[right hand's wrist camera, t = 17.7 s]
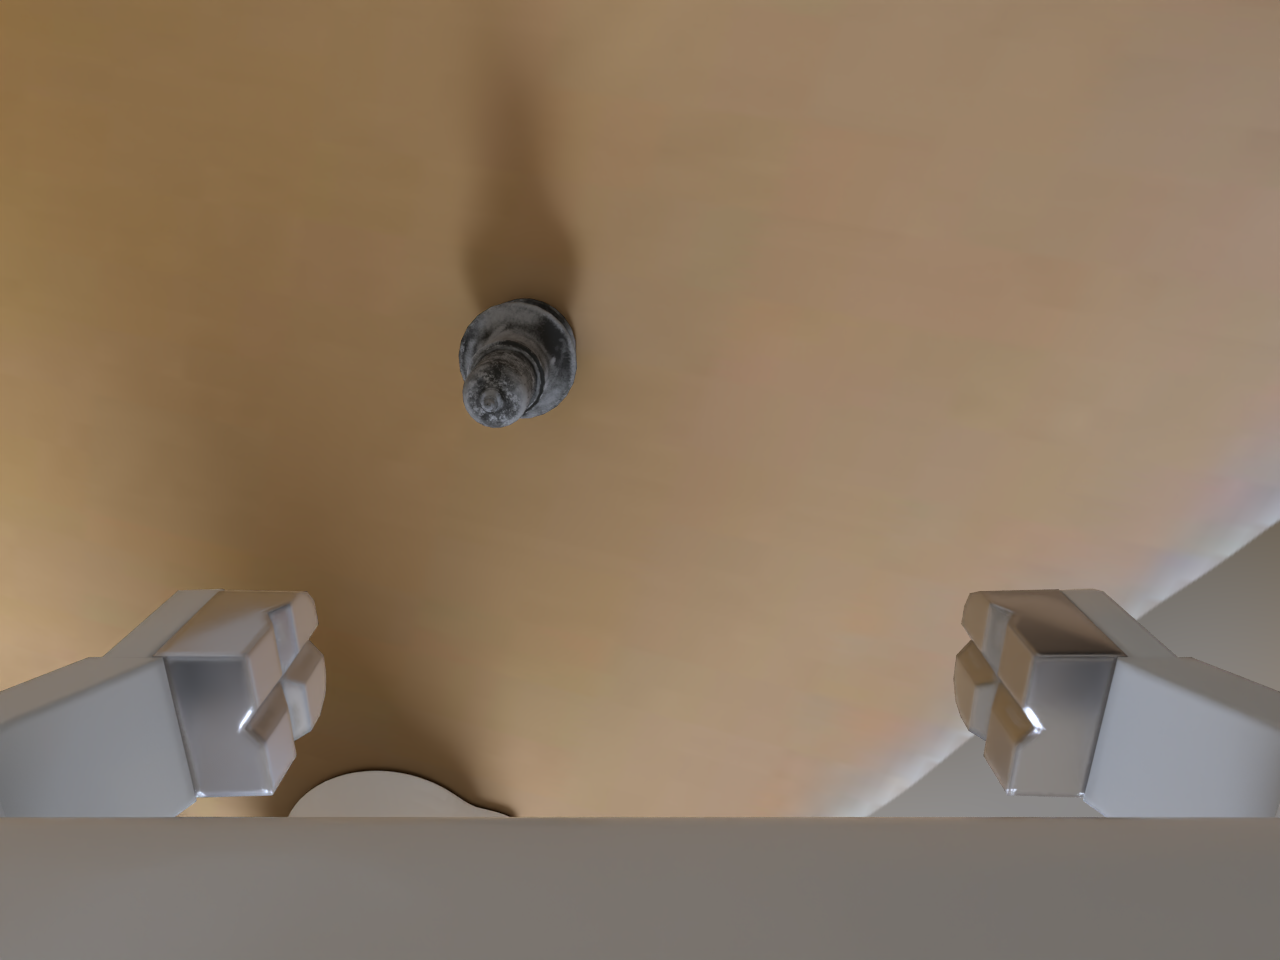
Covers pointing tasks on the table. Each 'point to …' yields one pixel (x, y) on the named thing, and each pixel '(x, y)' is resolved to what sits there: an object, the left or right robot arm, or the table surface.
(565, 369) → the grey chess piece
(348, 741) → the table surface
